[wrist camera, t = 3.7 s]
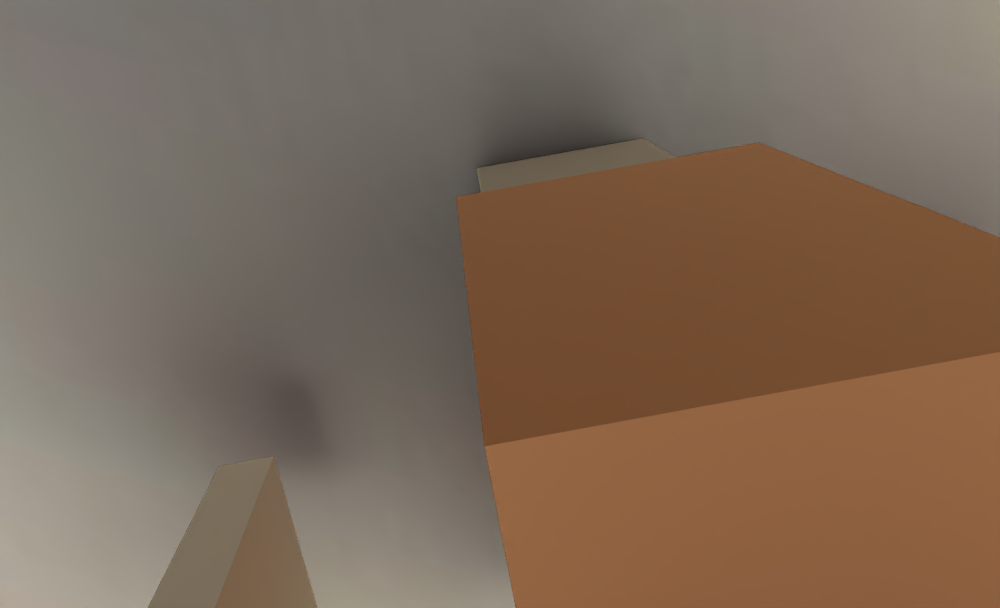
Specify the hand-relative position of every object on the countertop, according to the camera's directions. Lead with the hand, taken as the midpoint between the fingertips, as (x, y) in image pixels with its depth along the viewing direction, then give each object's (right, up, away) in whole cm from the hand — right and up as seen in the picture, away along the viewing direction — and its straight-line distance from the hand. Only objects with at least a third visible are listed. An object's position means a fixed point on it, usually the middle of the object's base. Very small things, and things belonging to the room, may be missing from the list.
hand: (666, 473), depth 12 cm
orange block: (-1, +1, +3) cm, 4 cm away
